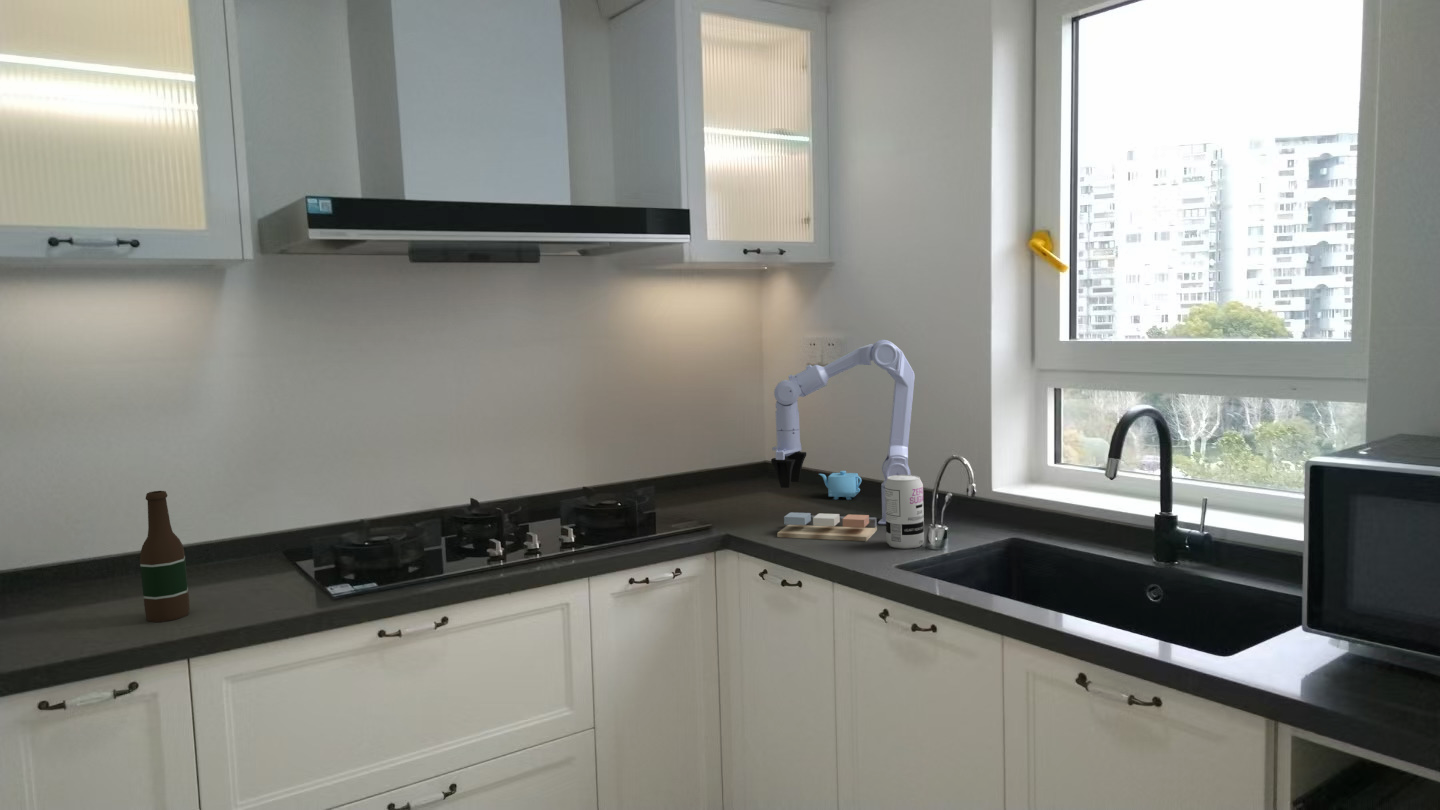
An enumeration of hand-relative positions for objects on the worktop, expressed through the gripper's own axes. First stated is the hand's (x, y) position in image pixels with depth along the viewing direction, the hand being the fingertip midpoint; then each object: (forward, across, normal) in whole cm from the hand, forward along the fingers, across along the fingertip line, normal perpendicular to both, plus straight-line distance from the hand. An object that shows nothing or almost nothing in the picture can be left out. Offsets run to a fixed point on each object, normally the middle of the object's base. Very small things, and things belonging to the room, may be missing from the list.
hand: (790, 484), depth 244 cm
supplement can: (+10, +15, +31) cm, 36 cm away
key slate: (+7, +9, +5) cm, 12 cm away
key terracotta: (+7, +9, +19) cm, 22 cm away
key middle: (+7, +9, +12) cm, 16 cm away
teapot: (+10, -33, +3) cm, 35 cm away
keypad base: (+10, +8, +12) cm, 17 cm away
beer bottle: (+10, +98, -93) cm, 135 cm away
